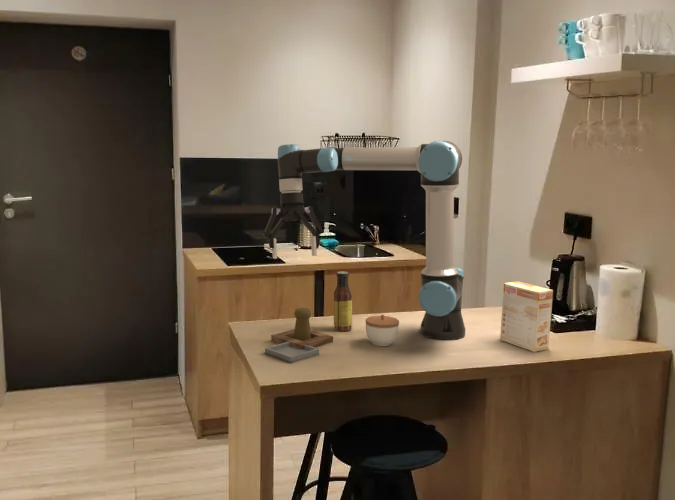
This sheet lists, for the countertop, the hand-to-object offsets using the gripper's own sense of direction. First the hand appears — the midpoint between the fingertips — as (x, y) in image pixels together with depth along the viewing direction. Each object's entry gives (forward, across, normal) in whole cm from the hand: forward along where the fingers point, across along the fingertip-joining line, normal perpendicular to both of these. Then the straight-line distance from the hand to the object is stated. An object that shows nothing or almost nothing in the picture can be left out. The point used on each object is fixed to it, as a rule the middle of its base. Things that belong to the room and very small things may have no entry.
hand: (294, 257), depth 232 cm
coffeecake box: (+32, -67, +30) cm, 80 cm away
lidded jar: (+29, -22, +15) cm, 40 cm away
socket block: (+27, +1, +7) cm, 28 cm away
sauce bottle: (+26, -16, -2) cm, 31 cm away
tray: (+28, +8, +18) cm, 35 cm away
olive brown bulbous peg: (+27, +1, +7) cm, 28 cm away
